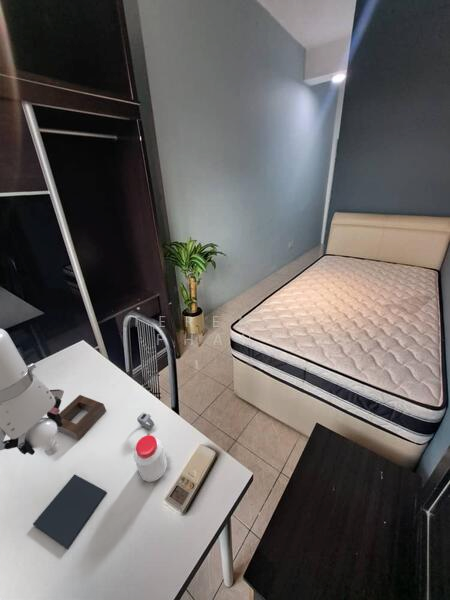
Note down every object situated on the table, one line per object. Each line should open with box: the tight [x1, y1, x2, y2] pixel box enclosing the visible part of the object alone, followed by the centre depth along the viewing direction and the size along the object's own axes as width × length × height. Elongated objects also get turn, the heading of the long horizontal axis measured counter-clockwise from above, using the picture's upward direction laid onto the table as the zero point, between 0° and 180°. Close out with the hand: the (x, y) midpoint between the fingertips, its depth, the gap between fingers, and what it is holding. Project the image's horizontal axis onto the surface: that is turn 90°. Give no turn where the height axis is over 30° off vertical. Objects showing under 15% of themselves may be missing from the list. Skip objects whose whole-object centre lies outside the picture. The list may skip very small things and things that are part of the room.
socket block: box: [57, 394, 107, 441], centre depth 86 cm, size 12×12×4 cm
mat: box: [32, 474, 108, 550], centre depth 64 cm, size 12×12×1 cm
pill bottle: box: [133, 434, 168, 483], centre depth 70 cm, size 8×8×11 cm
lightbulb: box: [25, 417, 60, 457], centre depth 59 cm, size 6×6×11 cm
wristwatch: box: [137, 412, 155, 430], centre depth 83 cm, size 6×3×5 cm, turn 65°
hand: (44, 437), depth 59 cm, fingers closed on lightbulb, 6 cm apart
